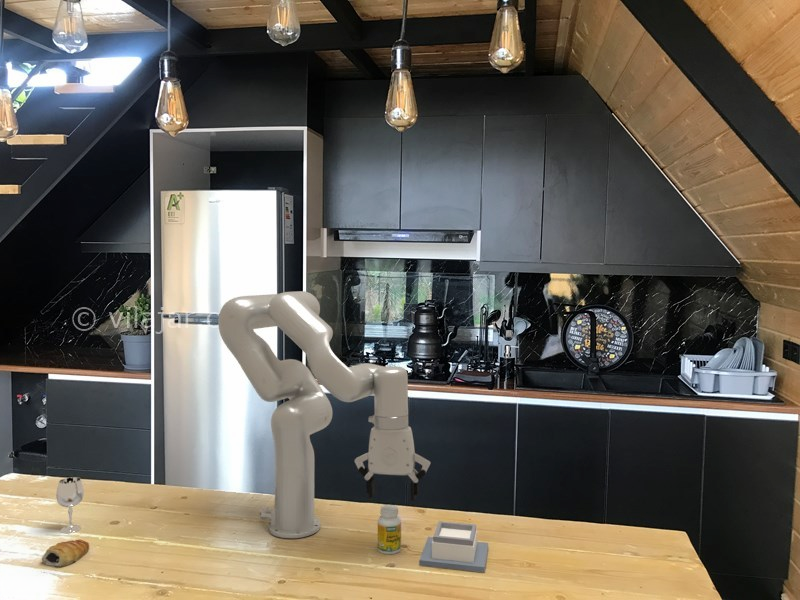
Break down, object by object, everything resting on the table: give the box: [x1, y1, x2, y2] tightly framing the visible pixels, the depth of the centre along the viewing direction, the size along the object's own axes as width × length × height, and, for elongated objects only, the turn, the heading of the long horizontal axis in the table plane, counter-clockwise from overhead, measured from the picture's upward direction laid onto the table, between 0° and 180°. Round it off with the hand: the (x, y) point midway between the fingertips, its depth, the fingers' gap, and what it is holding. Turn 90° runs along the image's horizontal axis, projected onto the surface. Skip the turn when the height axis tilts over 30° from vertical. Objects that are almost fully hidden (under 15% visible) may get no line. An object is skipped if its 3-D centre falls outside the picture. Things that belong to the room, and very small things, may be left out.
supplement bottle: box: [377, 504, 402, 555], centre depth 143 cm, size 5×5×10 cm
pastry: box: [41, 539, 90, 568], centre depth 137 cm, size 9×7×4 cm
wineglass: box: [56, 476, 84, 534], centre depth 151 cm, size 6×6×12 cm
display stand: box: [418, 520, 489, 574], centre depth 140 cm, size 14×12×6 cm
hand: (392, 497), depth 142 cm, fingers open, 9 cm apart
